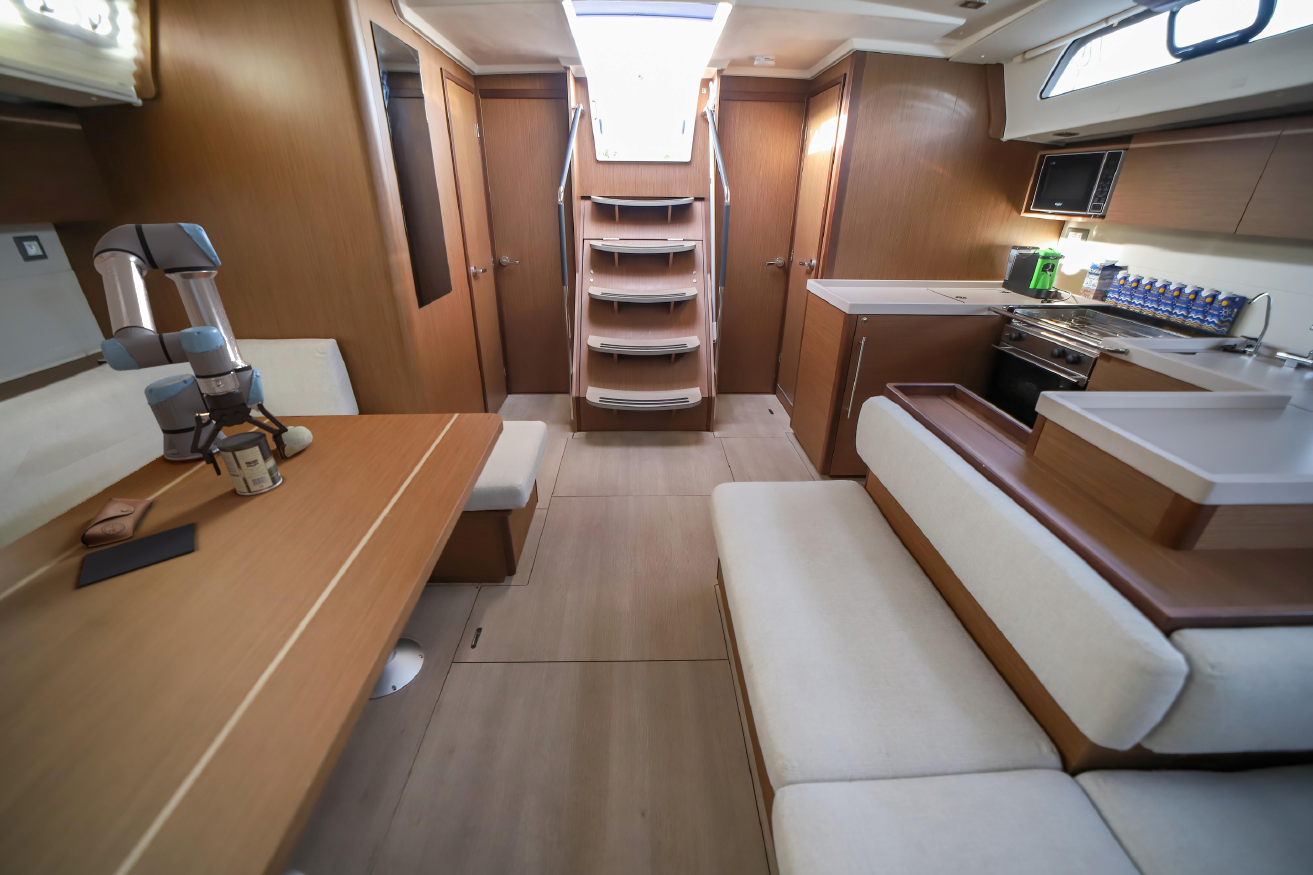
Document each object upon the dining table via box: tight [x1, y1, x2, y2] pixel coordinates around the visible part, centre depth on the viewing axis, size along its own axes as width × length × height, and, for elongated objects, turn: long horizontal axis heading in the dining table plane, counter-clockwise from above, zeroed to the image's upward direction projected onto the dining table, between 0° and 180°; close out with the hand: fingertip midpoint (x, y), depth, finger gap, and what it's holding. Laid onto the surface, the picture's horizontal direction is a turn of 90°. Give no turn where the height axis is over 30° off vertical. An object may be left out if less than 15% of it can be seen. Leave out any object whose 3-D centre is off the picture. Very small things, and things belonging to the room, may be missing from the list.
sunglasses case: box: [80, 496, 154, 548], centre depth 120 cm, size 18×7×7 cm
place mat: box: [77, 522, 196, 588], centre depth 110 cm, size 13×18×1 cm
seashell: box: [271, 425, 314, 458], centre depth 154 cm, size 13×8×10 cm
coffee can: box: [216, 430, 283, 496], centre depth 133 cm, size 10×10×14 cm
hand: (251, 465), depth 133 cm, fingers open, 13 cm apart
